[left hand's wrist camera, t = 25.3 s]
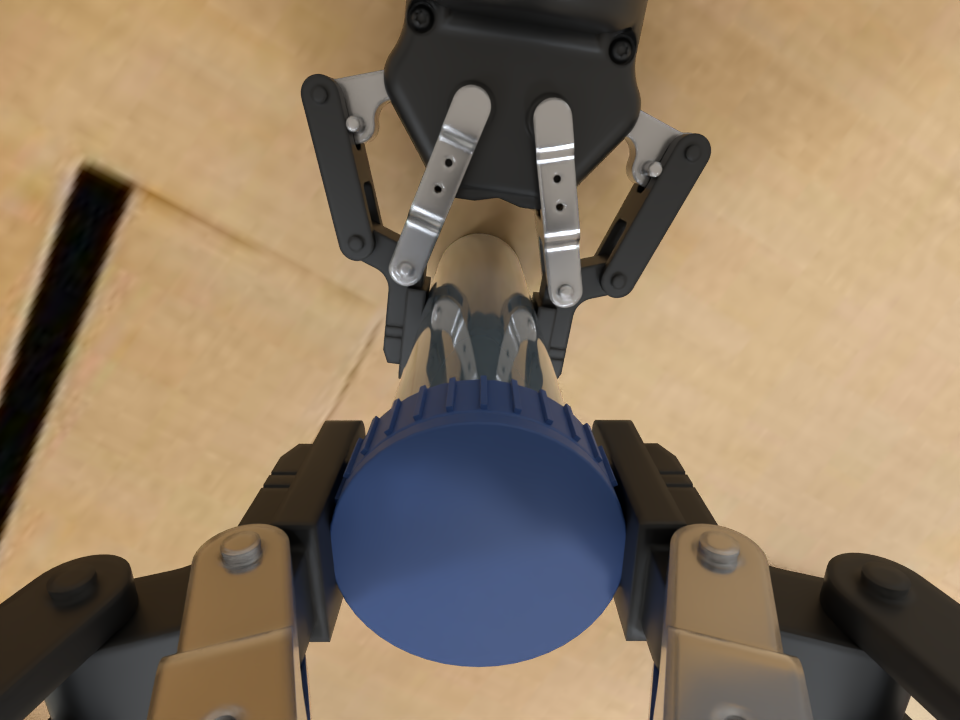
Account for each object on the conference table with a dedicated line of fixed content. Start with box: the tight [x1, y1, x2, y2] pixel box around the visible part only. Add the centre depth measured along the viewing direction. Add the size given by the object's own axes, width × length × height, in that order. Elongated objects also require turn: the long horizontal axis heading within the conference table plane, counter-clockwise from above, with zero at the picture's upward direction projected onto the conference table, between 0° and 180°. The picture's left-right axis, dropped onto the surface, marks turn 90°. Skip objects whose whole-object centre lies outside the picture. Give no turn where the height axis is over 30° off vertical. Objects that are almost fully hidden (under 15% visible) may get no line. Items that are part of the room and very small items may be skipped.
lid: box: [330, 375, 626, 667], centre depth 10 cm, size 5×5×2 cm
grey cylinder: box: [391, 233, 565, 408], centre depth 19 cm, size 4×4×19 cm
